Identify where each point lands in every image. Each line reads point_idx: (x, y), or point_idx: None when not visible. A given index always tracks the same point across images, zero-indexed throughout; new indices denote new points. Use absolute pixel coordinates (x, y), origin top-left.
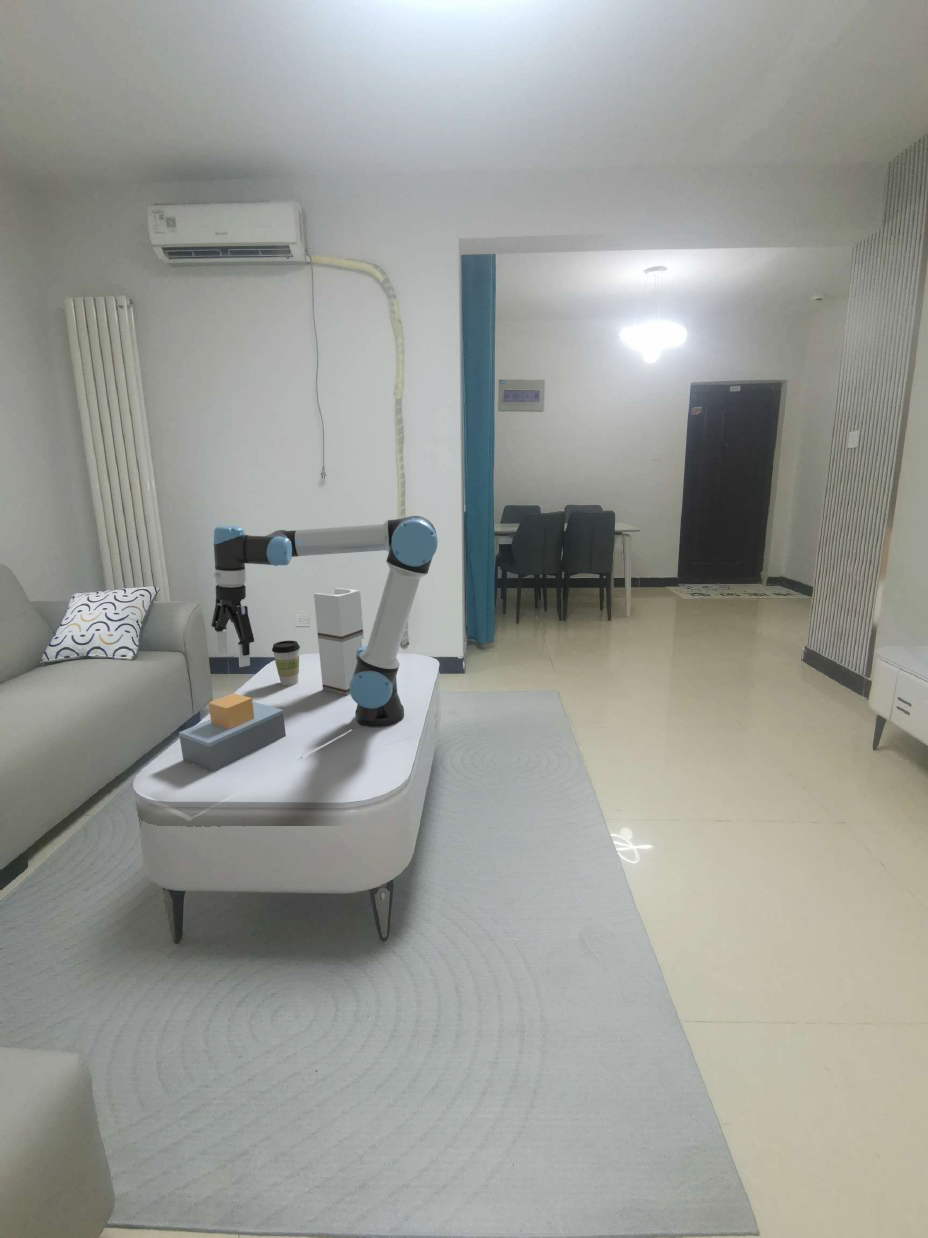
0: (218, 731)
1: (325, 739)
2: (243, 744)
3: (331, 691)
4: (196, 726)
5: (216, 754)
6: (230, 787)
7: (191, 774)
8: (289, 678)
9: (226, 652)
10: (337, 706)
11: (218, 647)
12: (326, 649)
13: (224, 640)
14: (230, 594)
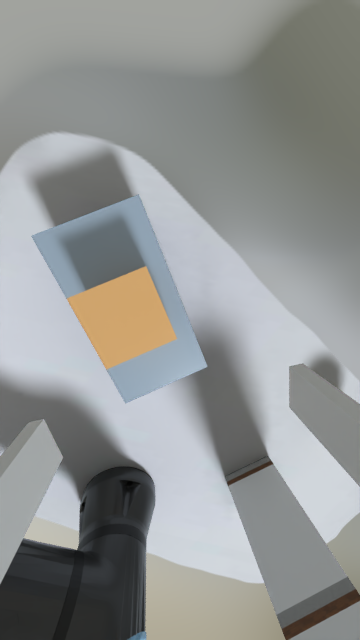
0: (88, 270)
1: (93, 417)
2: None
3: (252, 464)
4: (149, 237)
5: None
6: (3, 259)
7: None
8: None
9: (290, 405)
10: (196, 458)
11: (318, 395)
12: (305, 552)
13: (354, 465)
14: None
